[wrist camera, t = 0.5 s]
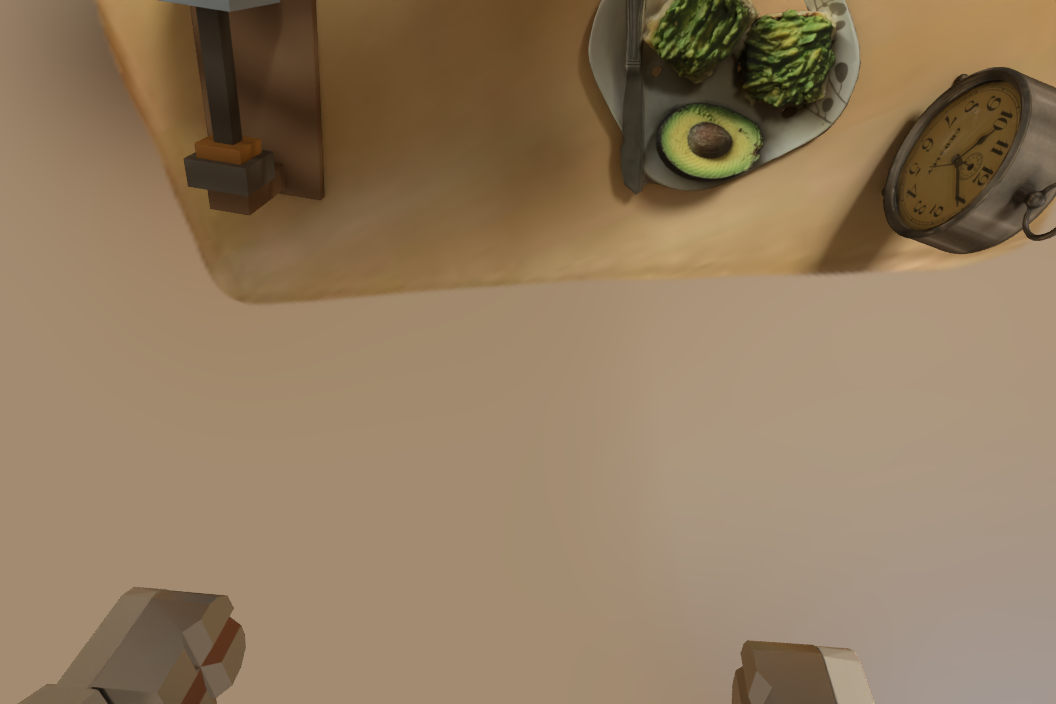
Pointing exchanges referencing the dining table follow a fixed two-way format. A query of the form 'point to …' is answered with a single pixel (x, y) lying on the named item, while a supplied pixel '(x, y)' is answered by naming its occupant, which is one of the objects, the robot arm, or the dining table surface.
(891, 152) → the dining table surface
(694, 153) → the salad plate
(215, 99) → the rail rig
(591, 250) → the dining table surface
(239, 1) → the sleeve
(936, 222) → the alarm clock
